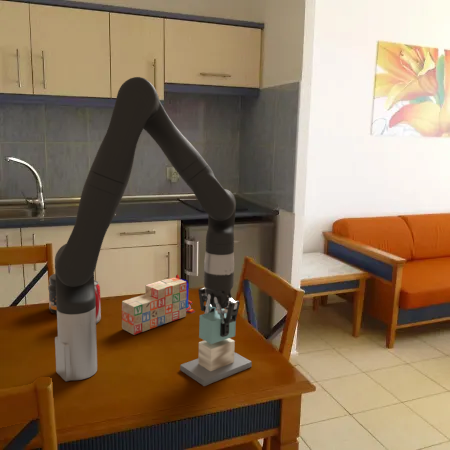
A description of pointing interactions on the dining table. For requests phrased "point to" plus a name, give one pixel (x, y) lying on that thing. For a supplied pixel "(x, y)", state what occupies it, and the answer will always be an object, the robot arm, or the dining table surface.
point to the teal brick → (213, 327)
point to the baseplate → (208, 376)
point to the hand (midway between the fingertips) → (217, 331)
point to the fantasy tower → (188, 307)
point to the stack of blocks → (155, 306)
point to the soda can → (97, 301)
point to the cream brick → (216, 354)
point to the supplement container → (52, 294)
